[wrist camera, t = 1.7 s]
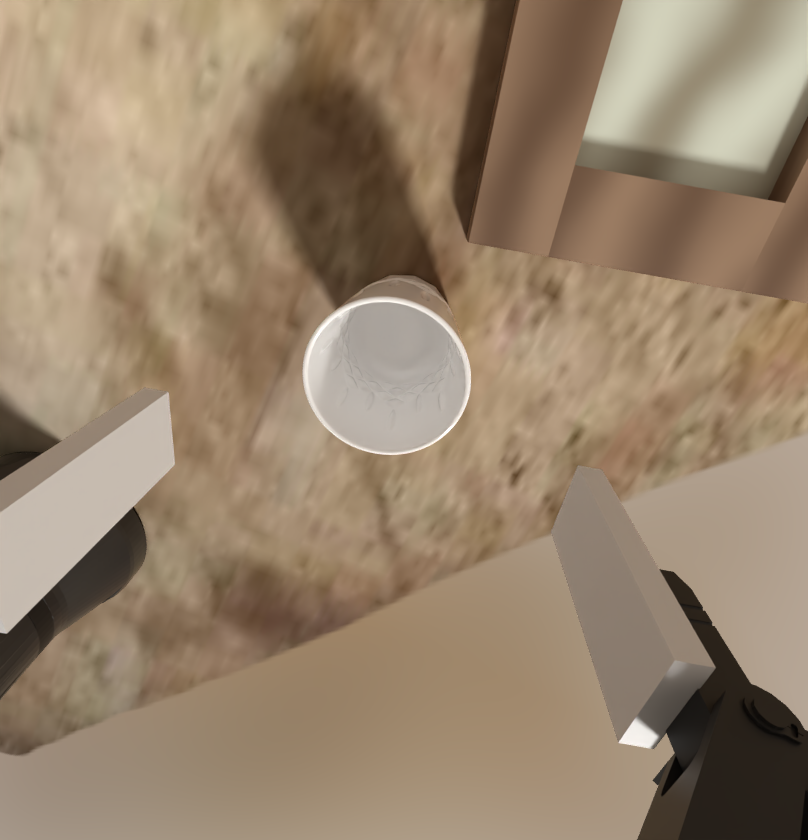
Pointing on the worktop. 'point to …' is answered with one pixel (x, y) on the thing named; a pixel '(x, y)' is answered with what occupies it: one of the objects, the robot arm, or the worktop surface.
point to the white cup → (388, 368)
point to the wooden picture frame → (654, 140)
